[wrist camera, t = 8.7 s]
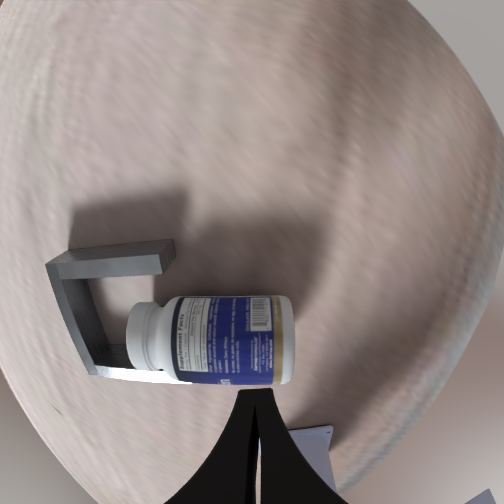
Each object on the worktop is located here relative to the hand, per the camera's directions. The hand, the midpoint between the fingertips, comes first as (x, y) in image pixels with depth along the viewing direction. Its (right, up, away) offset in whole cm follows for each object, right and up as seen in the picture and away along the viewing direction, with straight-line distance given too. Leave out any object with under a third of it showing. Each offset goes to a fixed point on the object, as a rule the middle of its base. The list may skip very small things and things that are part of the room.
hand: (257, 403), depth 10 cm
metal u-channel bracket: (-9, +2, +9) cm, 13 cm away
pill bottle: (+2, +1, +6) cm, 7 cm away
